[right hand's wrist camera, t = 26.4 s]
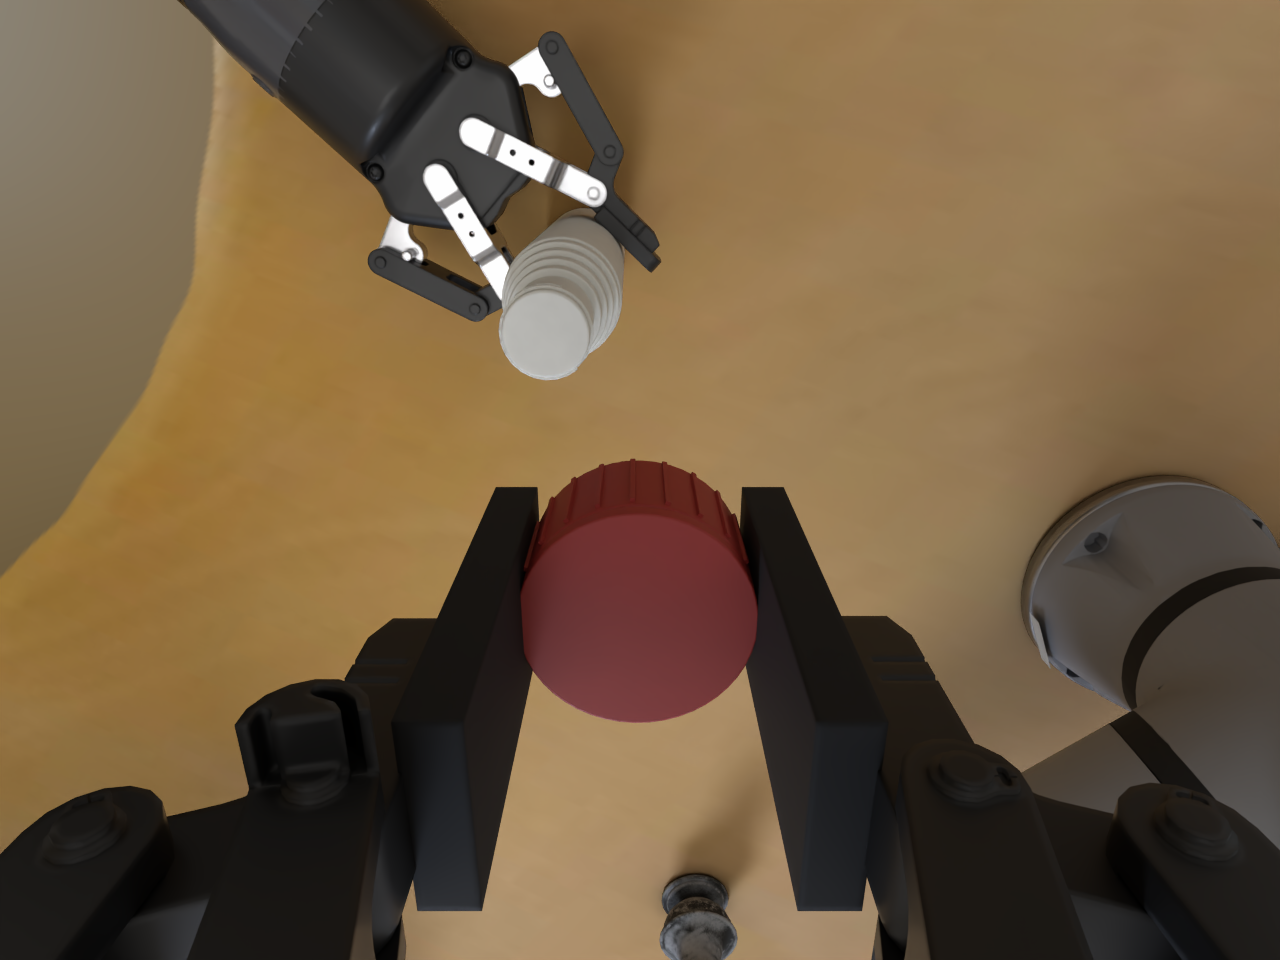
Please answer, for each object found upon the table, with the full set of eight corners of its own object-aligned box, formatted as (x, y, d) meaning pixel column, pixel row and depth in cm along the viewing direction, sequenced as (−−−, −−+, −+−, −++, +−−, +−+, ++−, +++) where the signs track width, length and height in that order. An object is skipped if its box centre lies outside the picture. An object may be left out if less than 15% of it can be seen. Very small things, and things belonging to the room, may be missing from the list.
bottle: (530, 237, 44) (439, 312, 23) (595, 191, 43) (564, 226, 22) (575, 304, 45) (528, 433, 24) (639, 261, 44) (648, 357, 24)
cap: (786, 559, 15) (813, 628, 12) (632, 680, 16) (632, 765, 13) (642, 411, 14) (644, 459, 11) (487, 551, 15) (461, 620, 12)
